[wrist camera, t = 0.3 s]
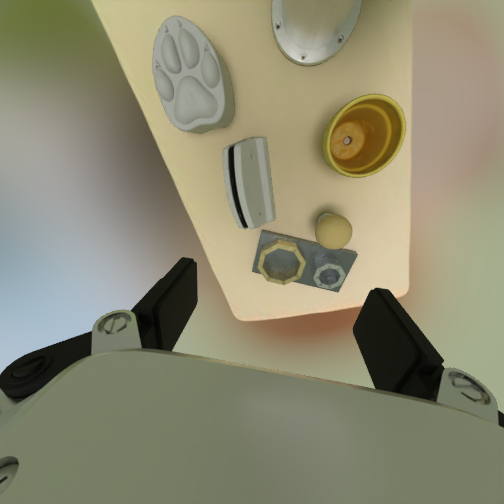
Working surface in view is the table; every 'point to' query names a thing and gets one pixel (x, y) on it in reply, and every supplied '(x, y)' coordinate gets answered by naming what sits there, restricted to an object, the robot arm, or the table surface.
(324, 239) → the light bulb
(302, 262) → the fitting plate
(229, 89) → the lumpy-topped squat cylinder
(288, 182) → the table surface
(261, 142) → the white rounded block
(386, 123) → the plant pot
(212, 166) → the table surface
